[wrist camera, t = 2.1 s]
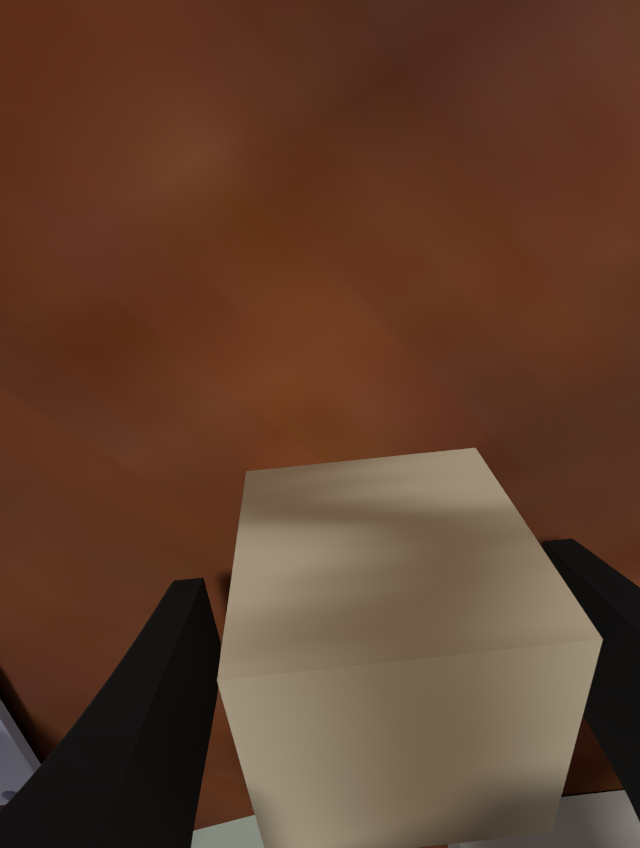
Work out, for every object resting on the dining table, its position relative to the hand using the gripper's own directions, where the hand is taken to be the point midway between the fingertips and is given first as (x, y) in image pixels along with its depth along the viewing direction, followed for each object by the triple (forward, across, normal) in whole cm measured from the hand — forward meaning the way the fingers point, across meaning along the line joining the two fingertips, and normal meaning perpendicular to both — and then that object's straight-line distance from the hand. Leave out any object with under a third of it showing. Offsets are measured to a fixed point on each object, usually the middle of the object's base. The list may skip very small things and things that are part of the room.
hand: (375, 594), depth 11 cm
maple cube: (+2, 0, 0) cm, 2 cm away
